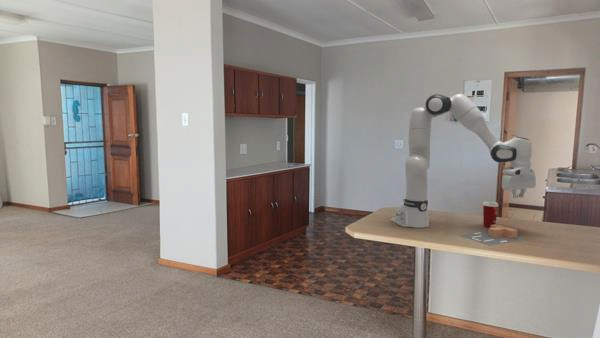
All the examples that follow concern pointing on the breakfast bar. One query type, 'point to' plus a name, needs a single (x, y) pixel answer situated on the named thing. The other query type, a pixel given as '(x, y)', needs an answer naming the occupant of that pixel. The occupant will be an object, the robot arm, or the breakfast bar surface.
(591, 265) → the breakfast bar surface
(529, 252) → the breakfast bar surface
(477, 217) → the breakfast bar surface
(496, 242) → the board
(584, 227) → the breakfast bar surface
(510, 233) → the t block
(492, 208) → the paper cup
